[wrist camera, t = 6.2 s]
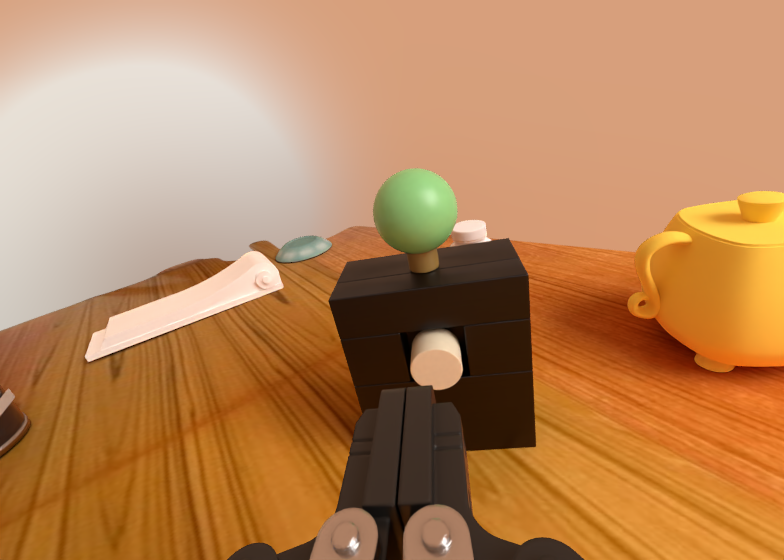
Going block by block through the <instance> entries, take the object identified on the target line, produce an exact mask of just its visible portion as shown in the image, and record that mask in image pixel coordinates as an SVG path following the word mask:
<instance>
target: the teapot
mask: <svg viewBox="0 0 784 560" xmlns="http://www.w3.org/2000/svg"><path fill="white" fill-rule="evenodd" d="M635 268H636V272H637V275H638V277H639V280H640V282H641V284H642V292H637V293H634V294H633V295H632V296H631V297H630V298H629V300H628V309H629V312H630V313H631V314H632V315H634V316H636V317H639V318H643V319H651V318H654V317H655V318H656V320H657V321H658V322H659V324H660V325H661V326H662V327H663V328H664V329H665V330H666V331H667V332H668V333H669V334H670V335H671V336H673V337H674V338H675V339H677V340H678V341H679V342H681V343H682V344H684V345H685V346H687V347H688V348H690V349H691V350H693V351H695V352H696V355H695V357H694V360H695V362H696V363H697V364H698V365H699V366H701V367H703V368H705V369H707V370H710V371H715V372H729V371H731V370H733V369H734V367H735V365H736V366H752V367H770V366H784V193H780V192H773V191H757V192H749V193H745V194H742V195H739V196H738V197H737V200H735V201H727V202H719V203H712V204H705V205H699V206H694V207H689V208H685V209H682V210H681V211H679V212H678V213H677V214H676V215H675V216H674V217H673V219H672V220H671V221H670V223H669V224H668V225H667V227H666V228H665V230H664V231H663V233H659V234H657V235H654V236H652V237H650V238H649V239H647V240H646V241H644V242H643V243H642V244H641V245H640V246H639V248H638V249H637V251H636V254H635ZM642 300H645V302H646V304H645V305H644V306H638V304H639V303H640V302H641V301H642Z"/></svg>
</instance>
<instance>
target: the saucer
mask: <svg viewBox="0 0 784 560" xmlns="http://www.w3.org/2000/svg"><path fill="white" fill-rule="evenodd" d="M331 246H332V243H331V242H330V241H328V240H326V239H324V238H322V237H318V236H304V237H300V238H296V239H294V240H291V241H289V242H288V243H286V244H285V245H284V246H283V247H282V248H281V249H280V251H279V252H278V254H277V256H276V260H277V261H279V262H296V261H302V260H305V259H309V258H312V257H315V256H317V255H319V254H322V253H323V252H325V251H327V250H328V249H329V248H330V247H331Z"/></svg>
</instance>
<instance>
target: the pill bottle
mask: <svg viewBox="0 0 784 560" xmlns="http://www.w3.org/2000/svg"><path fill="white" fill-rule="evenodd" d="M451 234H452V239H453V241H454V242H453V243H452V244H451V245H450V247H453V246H460V245H466V244H473V243H480V242H487V241H491V240H490V239H489V238H486V236H487V232H486V224H485V222H483V221H480V220H467V221H463V222H459V223H457V224H455V226H454V229H453V231H452V232H451Z"/></svg>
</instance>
